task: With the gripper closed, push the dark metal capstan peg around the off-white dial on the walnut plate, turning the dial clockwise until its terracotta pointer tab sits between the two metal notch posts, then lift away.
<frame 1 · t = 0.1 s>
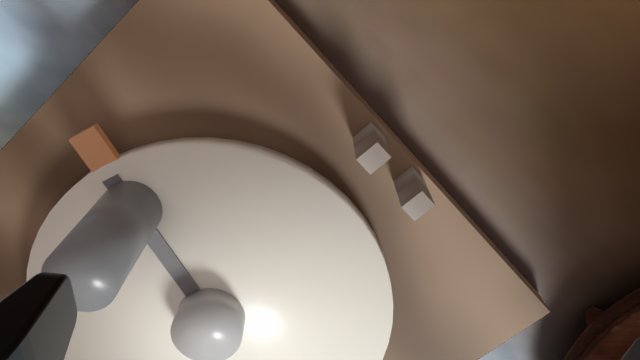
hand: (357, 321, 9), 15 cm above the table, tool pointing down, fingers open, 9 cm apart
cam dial: (191, 335, 22), point 5 cm above the table, hinge at 75.0°
stand plate: (222, 281, 27), on the table
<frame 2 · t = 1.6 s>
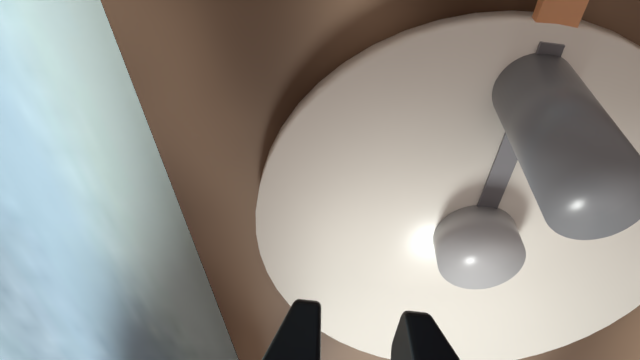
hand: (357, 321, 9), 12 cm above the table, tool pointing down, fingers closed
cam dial: (493, 263, 18), point 5 cm above the table, hinge at 75.0°
stand plate: (461, 189, 22), on the table
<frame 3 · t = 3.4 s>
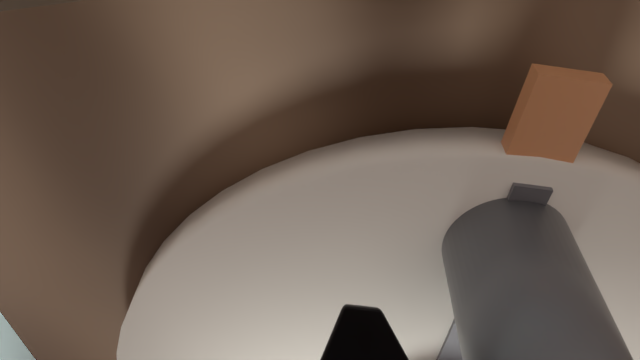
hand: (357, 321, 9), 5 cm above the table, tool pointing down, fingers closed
stand plate: (416, 323, 16), on the table
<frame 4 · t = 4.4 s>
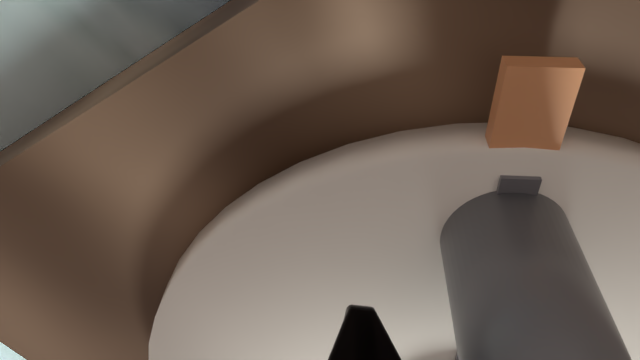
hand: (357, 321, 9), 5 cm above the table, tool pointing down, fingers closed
stand plate: (443, 320, 16), on the table
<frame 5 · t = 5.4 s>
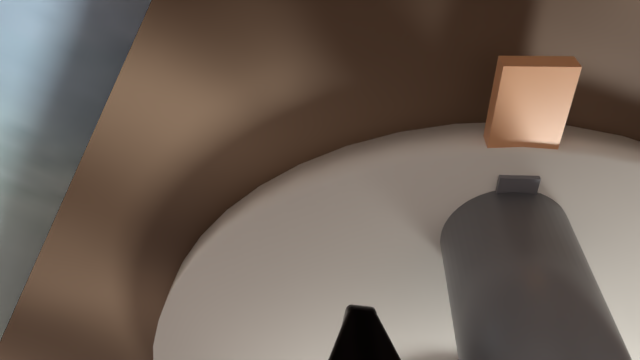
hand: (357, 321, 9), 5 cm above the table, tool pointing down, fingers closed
stand plate: (448, 320, 16), on the table
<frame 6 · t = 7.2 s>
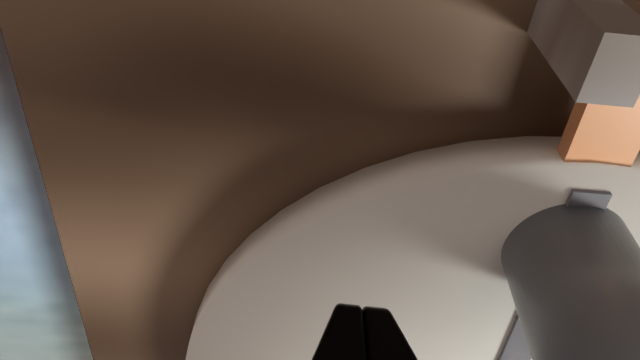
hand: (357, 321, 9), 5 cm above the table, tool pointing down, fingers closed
stand plate: (468, 326, 17), on the table
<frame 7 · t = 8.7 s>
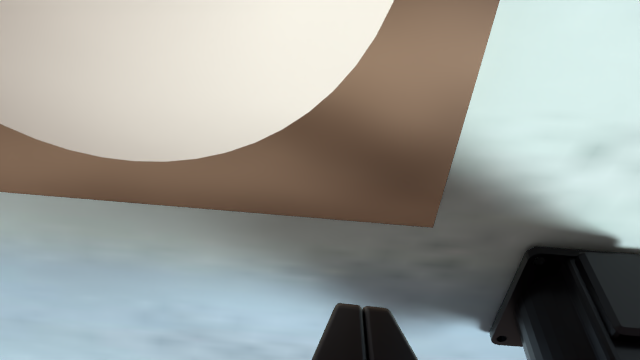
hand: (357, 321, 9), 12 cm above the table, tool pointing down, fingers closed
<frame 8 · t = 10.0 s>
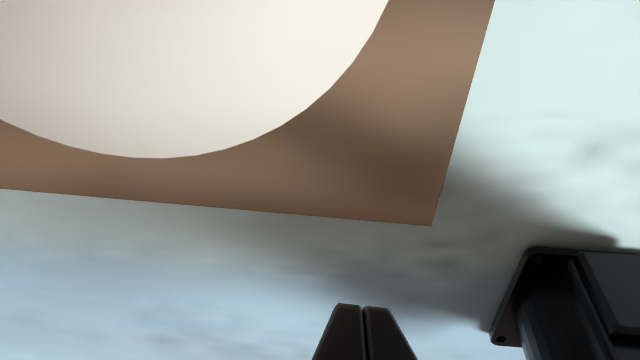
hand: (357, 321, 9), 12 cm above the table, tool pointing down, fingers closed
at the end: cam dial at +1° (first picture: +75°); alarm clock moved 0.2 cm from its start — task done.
